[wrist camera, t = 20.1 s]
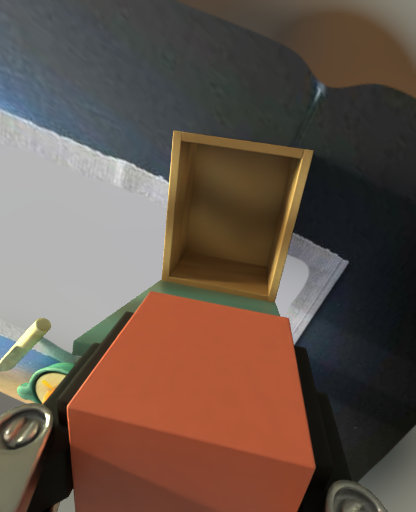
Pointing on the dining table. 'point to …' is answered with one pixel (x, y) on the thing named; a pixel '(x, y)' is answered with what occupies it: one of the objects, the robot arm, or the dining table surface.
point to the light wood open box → (231, 213)
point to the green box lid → (174, 289)
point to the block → (192, 414)
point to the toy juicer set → (43, 378)
